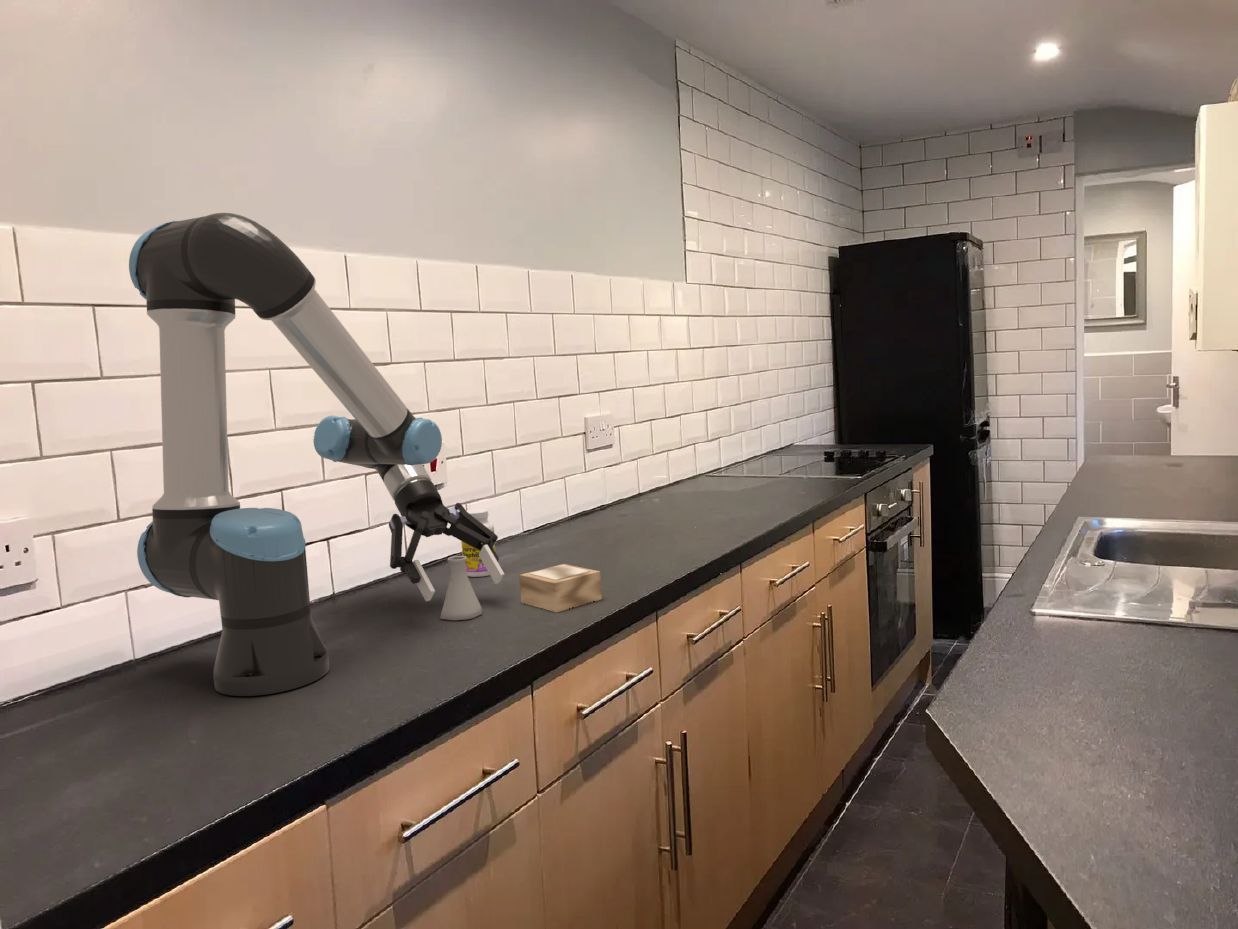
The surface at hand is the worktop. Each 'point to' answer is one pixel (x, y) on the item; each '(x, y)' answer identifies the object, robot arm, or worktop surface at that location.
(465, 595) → the flask
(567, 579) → the oak plinth
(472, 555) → the supplement bottle
